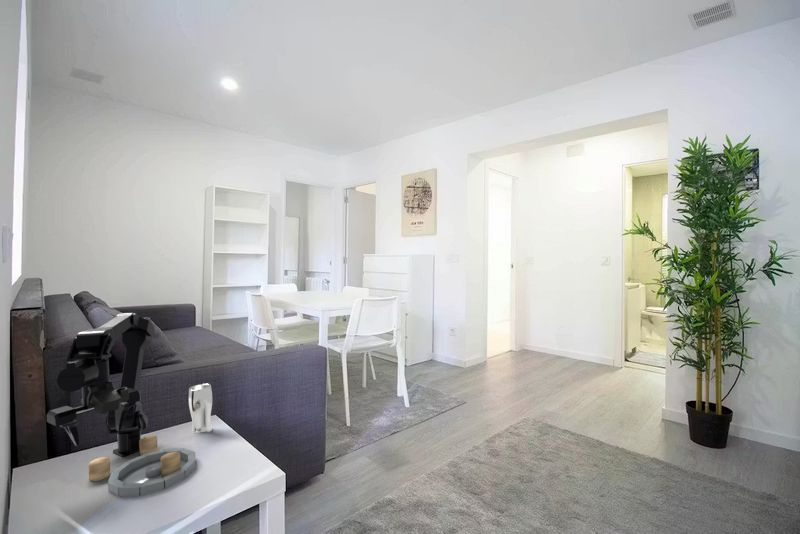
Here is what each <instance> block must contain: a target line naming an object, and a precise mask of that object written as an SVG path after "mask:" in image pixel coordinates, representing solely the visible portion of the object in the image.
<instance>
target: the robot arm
mask: <svg viewBox="0 0 800 534" xmlns="http://www.w3.org/2000/svg"><path fill="white" fill-rule="evenodd" d="M154 334H155V326H154V325H153V323H152V322H151V321H150V319H149V320H148V319H146V318H144V317H141V316H139V314H138V313H137V312H136V313H135V312H123V313H119V314H116V316H115V317H114V318H112V319H111V320H109V321H107V322H105V323H104V324H102V325H101V326H99V327H96V328H92V329H86V330H82V331H80V332H78V333H77V334H76V335H75V337H74V339H73V342H72V344H71V346H70V349H69V352H68V354H67V357H66V359H65V360H66V363H65V365H66V366H65V369H63V370H61V371H60V372H59V374H58V375H57V378H56V384H57V386H58V387H59V388H60V389H61V390H62V391H64V392H69V393H73V392H77V391H79V389H81V397H82V398H81V399H80V404H81V405H80V406H76V407H72V406H68V405H64V406H61V407H58V408H54V409H53V408H52V409H50V410H49V411H48V412H47V414H46V422H47V423H48V424H51V425H53V426H55V427H60V428H63V429H64V430H65V432H66V433H67V434H68V436H69V438H70V440H71V441H72V442H73V444H74V446H76V447H78V446H79V445H80V438H79V431H78V424H79V421H78V420H76V418H77V416H78V415H82V414H85V413H89V412H92V411H94V410H95V411H96V412H97V414H99V415H104V414H107V413H108V414H107V416H106V420H105V424H106V427H107V431H108V434H109V435H114V434H115V435H116V436H117V448H115V449H113V450H112V453H114V454H116V455H118V456H120V457H122V458H123V457H127V456H128V455H131V454H134V453H136V452H140V446H139V440H140V439H142V438H141V437H142V436H141V432H142V431H143V430H145V429H148V422H149V418H148V416H147V415H146V414H145V413H144V411H143V405H142V402H141V401H142V394H141V391H140V390H139V389H140V383H141V382H140V381H141V375H142V368H143V360H144V354H145V350H146V349H147V348H148V347H149V345H150V344H151V343H152V339H153V336H154ZM119 336H120V337H121V340H120V341H121V343H122V344H123V346H124V348H125V355H124V361H123V367H122V373H121V379H120V384H119V385H120V386H119V388H116V389H114V387H113V386H114V385H113V381H112V380H110V360H109V359H110V358H111V357H112V353H110V352H111V351H112V349H113V347H114V346H115V344H116V343H115V340H116V339H117V338H118V337H119Z"/></svg>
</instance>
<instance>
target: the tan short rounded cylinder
mask: <svg viewBox="0 0 800 534" xmlns="http://www.w3.org/2000/svg"><path fill="white" fill-rule="evenodd" d="M180 468H181V461H180V453H179V452H171V453H167V454H165V455H163V456H162V457H161V478H163V477H165V476H167V475H169V474H172V473H174V472H176V471H178V470H179V469H180Z"/></svg>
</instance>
